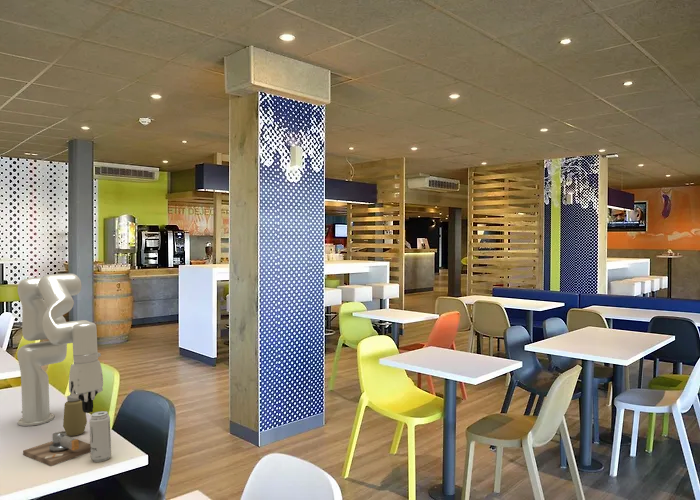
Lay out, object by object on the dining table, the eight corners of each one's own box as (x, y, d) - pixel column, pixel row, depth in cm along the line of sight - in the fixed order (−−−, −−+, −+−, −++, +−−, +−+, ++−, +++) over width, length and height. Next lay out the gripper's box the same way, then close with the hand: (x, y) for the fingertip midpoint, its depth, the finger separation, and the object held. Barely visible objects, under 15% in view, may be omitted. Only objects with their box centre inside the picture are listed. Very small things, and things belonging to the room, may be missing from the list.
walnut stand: (23, 454, 179) (23, 449, 179) (67, 440, 192) (67, 435, 192) (51, 466, 170) (50, 460, 170) (95, 449, 182) (95, 444, 182)
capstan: (45, 449, 179) (44, 435, 179) (65, 442, 185) (65, 429, 185) (65, 456, 172) (65, 442, 172) (86, 449, 178) (86, 435, 178)
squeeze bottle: (77, 438, 194) (75, 389, 194) (58, 436, 196) (56, 388, 196) (92, 430, 202) (90, 383, 202) (73, 429, 204) (72, 382, 203)
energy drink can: (89, 458, 175) (87, 413, 175) (108, 453, 178) (107, 409, 178) (93, 464, 170) (91, 417, 170) (113, 459, 174) (111, 413, 173)
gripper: (99, 353, 190) (102, 404, 190) (58, 362, 178) (60, 416, 178) (112, 355, 186) (114, 407, 186) (70, 364, 174) (72, 420, 174)
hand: (88, 411), depth 182 cm, fingers closed
